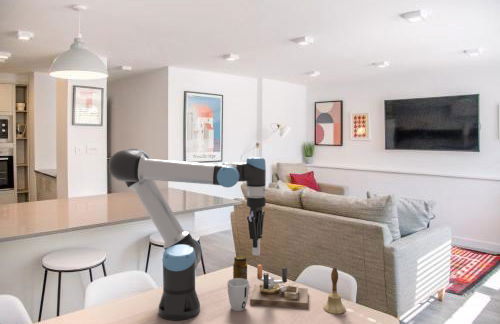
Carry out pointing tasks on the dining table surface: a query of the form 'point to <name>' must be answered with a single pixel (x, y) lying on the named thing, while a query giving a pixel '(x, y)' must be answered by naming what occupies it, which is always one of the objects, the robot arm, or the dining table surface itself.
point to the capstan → (270, 281)
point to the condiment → (240, 267)
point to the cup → (238, 293)
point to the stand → (281, 297)
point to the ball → (282, 289)
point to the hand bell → (334, 297)
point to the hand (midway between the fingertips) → (256, 254)
